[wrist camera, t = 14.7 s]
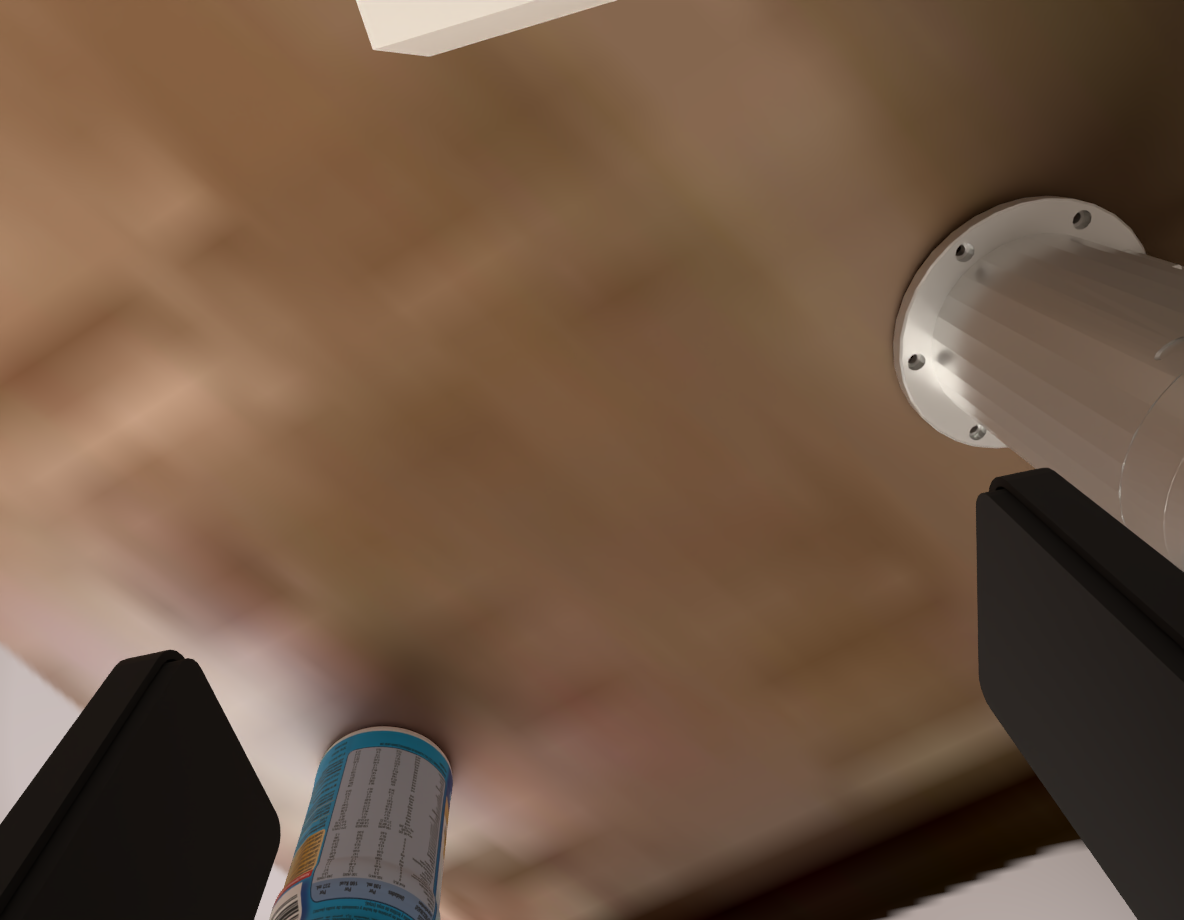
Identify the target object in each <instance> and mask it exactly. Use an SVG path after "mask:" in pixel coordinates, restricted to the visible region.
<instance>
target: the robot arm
mask: <svg viewBox="0 0 1184 920" xmlns="http://www.w3.org/2000/svg"><path fill="white" fill-rule="evenodd" d="M1074 216H1075V218H1074ZM1073 218H1074V219H1073ZM959 246H961V249H960V251H959V252H958V253H957V254H956V250H957V249H958V247H959ZM893 354H894V367H895V370H896V374H897V377H898V381H899V385H900V387H901V389H902V391H903V393H904V395H905V396H906V398H907V400H908V402H909V404H910V405H911V406H912V407H913V408H914V410H915V411H916V412H917V413H918V414H919V415H920V416H921V417H922V418H923V419H924V420H925V421H926V422H927V423H929V424H930V425H931V426H932V427H933V428H935V429H936V430H937V431H938V432H940V433H942V434H944V435H946V436H947V437H949V438H951V439H953V440H955V441H958V442H961V443H964V444H967V445H970V446H975V447H987V448H1006V447H1009V448H1010V449H1012V450H1013V451H1014V452H1015V453H1017V454H1018V455H1019V456H1020V457H1022V458H1023V459H1024V460H1026V461H1027V462H1028V463H1029V464H1031V465H1032V466H1033V467H1034V468H1036V469H1034V470H1029V471H1025V472H1020V473H1015V474H1010V475H1005V476H1001V477H996V478H995V479H994V480H993V481H992V482H991V485H990V488H989V492H986V493H981V494H980V495H979V496H978V498H977V501H976V536H977V597H978V659H979V681H980V685H981V689H982V692H983V695H984V697H985V699H986V702H987V704H988V705H989V707H990V709H991V710H992V712H993V713H994V714H995V716H996V717H997V719H998V720H999V722H1000V723H1001V724H1002V726H1003V727H1004V729H1005V730H1006V732H1007V733H1008V734H1009V736H1010V737H1011V739H1012V740H1013V742H1014V743H1015V745H1016V746H1017V747H1018V749H1019V750H1020V752H1021V753H1022V755H1023V756H1024V757H1025V759H1026V760H1027V762H1028V763H1029V765H1030V766H1031V767H1032V769H1033V770H1034V772H1035V773H1036V775H1037V776H1038V777H1039V779H1040V780H1041V782H1042V783H1043V785H1044V786H1045V787H1046V789H1047V790H1048V792H1049V793H1050V795H1051V796H1052V797H1053V799H1054V800H1055V802H1056V803H1057V805H1058V806H1059V807H1060V809H1061V810H1062V812H1063V813H1064V815H1065V816H1066V817H1067V819H1068V820H1069V822H1070V823H1071V825H1072V826H1073V827H1074V829H1075V830H1076V832H1077V833H1078V835H1079V836H1080V837H1081V839H1082V840H1083V842H1084V843H1085V845H1086V846H1087V848H1088V849H1089V850H1090V851H1091V853H1092V855H1093V856H1094V858H1095V859H1096V860H1097V862H1098V863H1099V865H1100V866H1101V868H1102V869H1103V870H1104V872H1105V873H1106V875H1107V876H1108V878H1109V879H1110V880H1111V882H1112V883H1113V885H1114V886H1115V887H1116V889H1117V890H1118V892H1119V893H1120V895H1121V896H1122V897H1123V899H1124V900H1125V902H1126V903H1127V905H1128V906H1129V908H1130V909H1131V910H1132V912H1133V913H1134V915H1135V916H1136V917H1137V919H1138V920H1184V266H1181V265H1178V264H1175V263H1172V262H1169V261H1165V260H1162V259H1159V258H1155V257H1152V256H1149V255H1147V254H1146V252H1145V249H1144V247H1143V245H1142V244H1141V242H1140V241H1139V239H1138V238H1137V236H1136V235H1135V233H1134V232H1133V230H1132V229H1131V228H1130V227H1129V226H1128V225H1126V224H1125V223H1124V222H1123V221H1122V220H1121V219H1120V218H1119V217H1117V216H1116V215H1115V214H1113V213H1111V212H1109V211H1107V210H1105V209H1103V208H1101V207H1099V206H1097V205H1095V204H1092V203H1089V202H1085V201H1081V200H1078V199H1074V198H1066V197H1058V196H1050V195H1049V196H1037V197H1026V198H1021V199H1018V200H1014V201H1011V202H1007V203H1004V204H1000V205H998V206H995V207H993V208H991V209H989V210H987V211H985V212H983V213H981V214H979V215H977V216H975V217H973V218H972V219H970V220H969V221H968V222H966V223H965V224H963V225H962V226H960V227H959V228H958V229H956V230H955V231H953V232H952V233H951V234H950V235H949V236H948V237H947V238H946V239H945V240H944V241H943V242H942V243H941V244H939V245H938V246H937V247H936V248H935V249H934V250H933V251H932V252H931V254H930V255H929V256H928V258H927V259H926V260H925V262H924V263H923V264H922V266H921V267H920V268H919V270H918V271H917V272H916V274H915V276H914V278H913V280H912V282H911V284H910V285H909V287H908V289H907V291H906V293H905V295H904V297H903V300H902V303H901V306H900V309H899V313H898V316H897V319H896V324H895V332H894V339H893ZM912 355H913V358H912V359H911V360H909V358H910V357H911V356H912ZM908 360H909V361H908ZM279 844H280V823H279V819H278V816H277V814H276V811H275V810H274V808H273V806H272V804H271V802H270V800H269V798H268V796H267V794H266V792H265V790H264V788H263V786H262V785H261V783H260V781H259V779H258V777H257V775H256V773H255V771H254V769H253V767H252V765H251V763H250V761H249V760H248V758H247V756H246V754H245V752H244V750H243V748H242V746H241V744H240V742H239V740H238V738H237V736H236V734H235V733H234V731H233V729H232V727H231V725H230V723H229V721H228V719H227V717H226V715H225V713H224V711H223V709H222V708H221V706H220V704H219V702H218V700H217V698H216V696H215V694H214V692H213V690H212V688H211V686H210V684H209V683H208V681H207V679H206V677H205V675H204V673H203V671H202V669H201V667H200V666H199V664H198V663H197V662H196V661H194V660H193V659H189V658H187V659H185V658H184V657H183V656H182V655H181V654H180V653H178V652H177V651H174V650H166V651H162V652H157V653H152V654H147V655H142V656H138V657H133V658H128V659H125V660H122V661H120V662H119V663H118V664H117V665H116V666H115V667H114V669H113V670H112V671H111V673H110V674H109V675H108V677H107V678H106V680H105V681H104V682H103V684H102V685H101V686H100V688H99V689H98V691H97V692H96V693H95V695H94V696H93V698H92V699H91V700H90V702H89V703H88V704H87V706H86V707H85V709H84V710H83V711H82V713H81V714H80V715H79V717H78V719H77V720H76V721H75V722H74V724H73V725H72V727H71V728H70V729H69V731H68V732H67V733H66V735H65V736H64V738H63V739H62V740H61V742H60V743H59V744H58V746H57V747H56V749H55V750H54V751H53V753H52V754H51V755H50V757H49V758H48V760H47V761H46V762H45V764H44V765H43V766H42V768H41V769H40V771H39V772H38V773H37V775H36V776H35V778H34V779H33V780H32V782H31V783H30V785H29V786H28V787H27V789H26V790H25V791H24V793H23V794H22V795H21V797H20V798H19V800H18V801H17V802H16V804H15V805H14V806H13V808H12V809H11V811H10V812H9V813H8V815H7V816H6V817H5V819H4V820H3V822H2V823H1V824H0V920H254V917H255V915H256V912H257V909H258V906H259V903H260V900H261V897H262V894H263V892H264V889H265V886H266V883H267V880H268V877H269V874H270V871H271V868H272V866H273V863H274V860H275V857H276V854H277V851H278V848H279Z"/></svg>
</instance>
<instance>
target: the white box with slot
mask: <svg viewBox="0 0 1184 920" xmlns="http://www.w3.org/2000/svg"><path fill="white" fill-rule="evenodd" d="M613 1H616V0H356V2H357V4H358V7H359V10H360V13H361V16H362V19H363V22H364V25H365V28H366V31H367V34H368V36H369V39H370V42H371V45H372V48H373V50H379V51H388V52H396V53H404V54H412V55H421V56H429V57H430V56H433V55H437V54H440V53H443V52H447V51H450V50H453V49H457V48H460V47H463V46H467V45H470V44H473V43H476V42H480V41H483V40H486V39H490V38H493V37H496V36H500V35H503V34H506V33H510V32H513V31H516V30H520V29H523V28H526V27H530V26H533V25H536V24H540V23H543V22H546V21H550V20H553V19H556V18H559V17H563V16H566V15H569V14H573V13H576V12H579V11H583V10H586V9H589V8H593V7H596V6H599V5H603V4H606V3H609V2H613Z"/></svg>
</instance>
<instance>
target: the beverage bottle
mask: <svg viewBox="0 0 1184 920" xmlns="http://www.w3.org/2000/svg"><path fill="white" fill-rule="evenodd" d="M452 786H453V775H452V770H451V766H450V764H449V761H448V759H447V758H446V756H445V754H444V753H443V752H442V751H441V749H440V748H439V747H438V746H437V745H436V744H434V743H433V742H432V741H431V740H429V739H428V738H426V737H424V736H422V735H421V734H418V733H416V732H413V731H411V730H407V729H403V728H398V727H389V726H379V727H370V728H365V729H361V730H358V731H355V732H352V733H350V734H348V735H346V736H344V737H343V738H341V739H340V740H338V741H337V742H336V743H334V744H333V745H332V746H331V747H330V748H329V750H328V751H327V752H326V753H325V755H324V756H323V758H322V760H321V762H320V765H319V768H318V771H317V774H316V778H315V783H314V788H313V792H312V797H311V800H310V804H309V807H308V811H307V814H306V818H305V821H304V824H303V827H302V831H301V834H300V837H299V840H298V844H297V847H296V850H295V853H294V856H293V860H292V863H291V866H290V869H289V873H288V876H287V879H286V882H285V886H284V888H283V890H282V891H281V892H280V894H279V895H278V897H277V899H276V901H275V904H274V906H273V909H272V912H271V916H270V920H440V912H439V906H440V896H441V885H442V875H443V865H444V855H445V845H446V835H447V825H448V816H449V807H450V800H451V794H452Z"/></svg>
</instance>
